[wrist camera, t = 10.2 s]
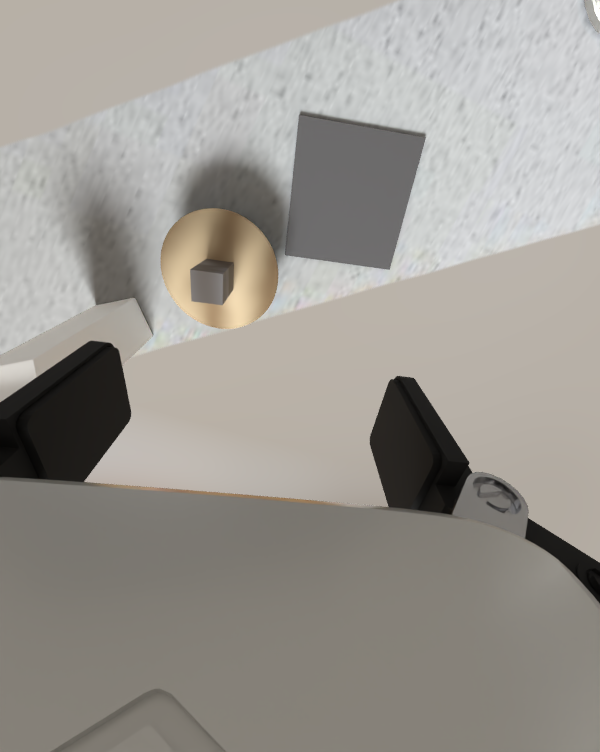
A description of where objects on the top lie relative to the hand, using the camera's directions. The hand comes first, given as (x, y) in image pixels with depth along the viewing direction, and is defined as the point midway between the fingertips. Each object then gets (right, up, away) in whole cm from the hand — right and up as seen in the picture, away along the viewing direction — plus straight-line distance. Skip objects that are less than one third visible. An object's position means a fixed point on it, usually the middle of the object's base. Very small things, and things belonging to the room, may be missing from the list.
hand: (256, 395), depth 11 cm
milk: (-24, +9, +33) cm, 41 cm away
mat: (+7, +22, +25) cm, 34 cm away
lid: (-7, +13, +24) cm, 28 cm away
